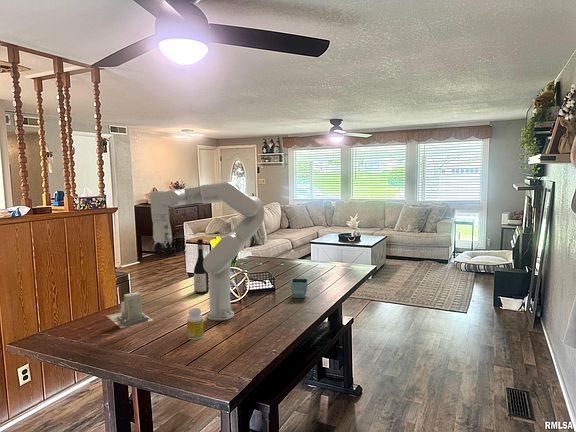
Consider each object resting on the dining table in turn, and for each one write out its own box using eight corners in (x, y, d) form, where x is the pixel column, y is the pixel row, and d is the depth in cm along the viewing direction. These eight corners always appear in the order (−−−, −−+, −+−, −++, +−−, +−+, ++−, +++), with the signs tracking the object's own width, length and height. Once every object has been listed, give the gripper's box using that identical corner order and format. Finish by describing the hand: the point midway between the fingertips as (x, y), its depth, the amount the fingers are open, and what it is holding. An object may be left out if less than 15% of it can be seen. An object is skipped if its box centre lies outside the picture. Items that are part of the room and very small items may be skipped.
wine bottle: (205, 294, 218) (203, 240, 215) (192, 294, 220) (190, 240, 217) (211, 290, 226) (209, 238, 223) (198, 289, 228) (196, 238, 225)
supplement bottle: (195, 341, 157) (194, 313, 156) (184, 338, 161) (183, 310, 160) (206, 335, 163) (206, 309, 162) (195, 332, 166) (194, 306, 165)
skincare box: (139, 317, 180) (138, 291, 178) (142, 320, 176) (141, 293, 175) (124, 321, 176) (123, 294, 174) (127, 324, 172) (126, 296, 171)
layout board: (153, 323, 177) (153, 316, 177) (120, 331, 168) (120, 324, 167) (137, 311, 192) (136, 305, 192) (106, 318, 183) (106, 312, 183)
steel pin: (129, 314, 184) (129, 302, 183) (122, 316, 182) (122, 303, 181) (127, 313, 186) (126, 300, 185) (120, 314, 184) (120, 301, 183)
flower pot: (308, 294, 217) (308, 278, 216) (307, 299, 209) (307, 282, 208) (292, 294, 218) (292, 278, 217) (290, 299, 209) (290, 282, 208)
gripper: (177, 217, 179) (179, 255, 181) (159, 216, 191) (162, 251, 193) (161, 219, 174) (164, 258, 175) (144, 218, 186) (147, 254, 188)
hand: (163, 254), depth 184 cm, fingers open, 9 cm apart
